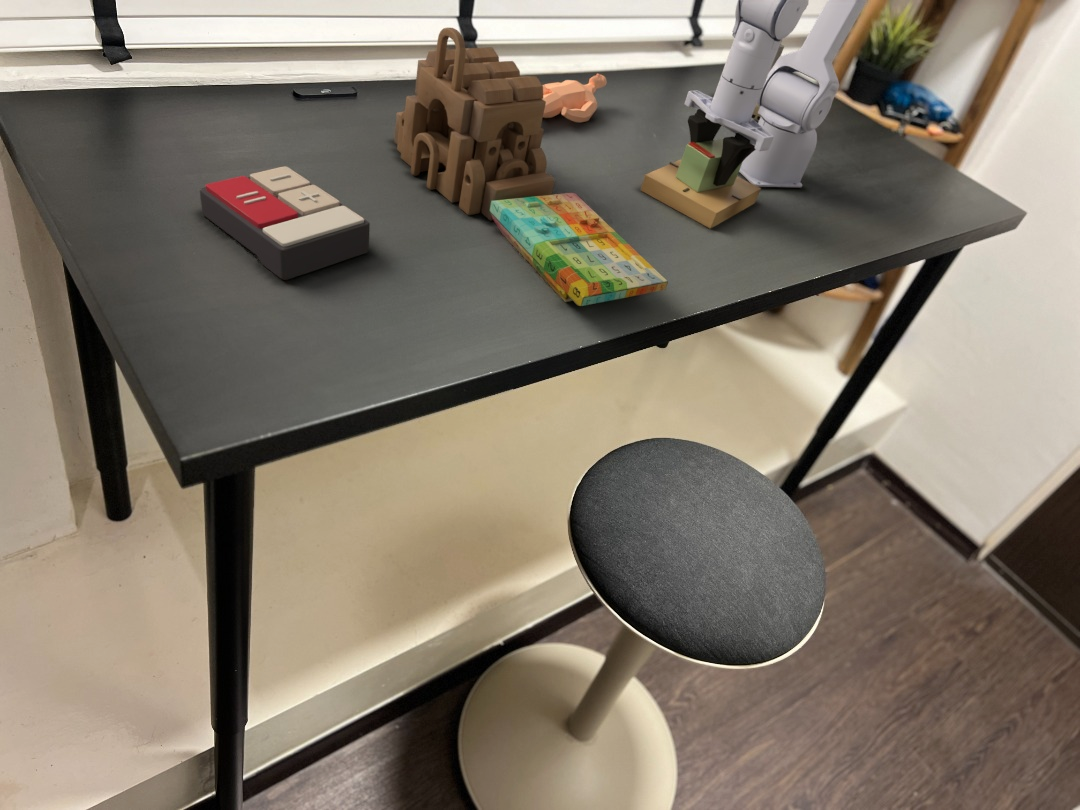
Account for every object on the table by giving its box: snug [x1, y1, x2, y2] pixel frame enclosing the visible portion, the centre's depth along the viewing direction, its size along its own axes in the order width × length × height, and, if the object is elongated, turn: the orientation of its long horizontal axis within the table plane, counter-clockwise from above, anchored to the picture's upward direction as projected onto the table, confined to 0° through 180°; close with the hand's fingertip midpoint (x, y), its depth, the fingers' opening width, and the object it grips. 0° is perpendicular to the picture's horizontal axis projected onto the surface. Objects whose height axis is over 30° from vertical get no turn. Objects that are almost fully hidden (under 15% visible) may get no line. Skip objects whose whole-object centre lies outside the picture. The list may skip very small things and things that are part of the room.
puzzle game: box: [489, 192, 669, 307], centre depth 90 cm, size 12×5×20 cm
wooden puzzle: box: [393, 27, 556, 221], centre depth 98 cm, size 22×15×19 cm, turn 39°
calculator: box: [199, 165, 371, 281], centre depth 84 cm, size 11×4×15 cm
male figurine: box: [542, 73, 607, 123], centre depth 124 cm, size 11×5×25 cm
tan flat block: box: [640, 158, 762, 230], centre depth 113 cm, size 14×12×3 cm
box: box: [676, 138, 742, 192], centre depth 110 cm, size 8×4×5 cm, turn 128°
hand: (706, 175), depth 112 cm, fingers closed on box, 4 cm apart
